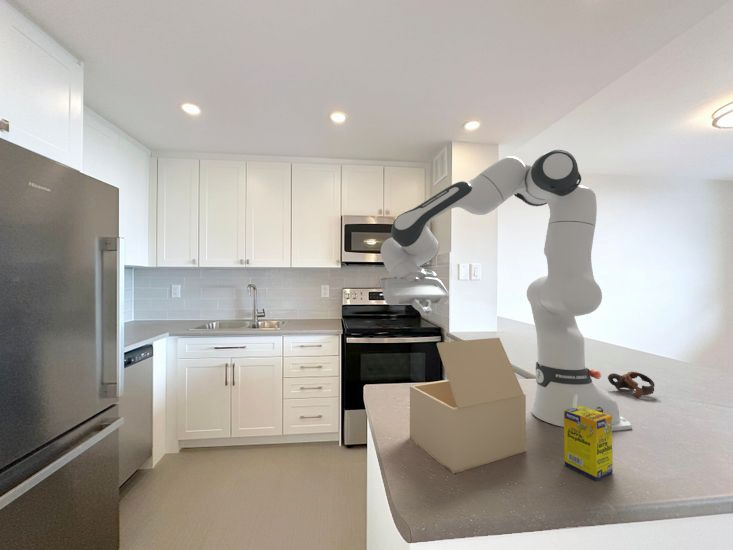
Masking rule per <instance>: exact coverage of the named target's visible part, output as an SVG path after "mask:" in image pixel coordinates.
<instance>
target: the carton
mask: <svg viewBox="0 0 733 550" xmlns="http://www.w3.org/2000/svg"><path fill="white" fill-rule="evenodd" d="M526 395H527V394H525V393H524V395H522V396H517V397H512V398H508V399H503V400H498V401H493V402H488V403H483V404H478V405H473V406H468V407H463V408H457V405H456V402H455V399H454V396H453V393H452V390H451V387H450V384H449V381H448V379H444V380H438V381H430V382H423V383H416V384H412V385H410V386H409V440H411V441H412V442H413V443H415V444H416V445H417V446H419V447H420V448H421V449H422V450H423V451H425V452H426V453H427V454H428V455H430V456H431V457H432V458H434V460H436V461H437V462H438V463H439V464H441V465H442V466H443V467H444V468H445V467H446V468H445V469H447V470H448V471H449V472H450V471H451V472H450V473H452V475H456V474H459V473H461V472H464V471H469V470H472V469H474V468H477V467H481V466H483V465H487V464H490V463H493V462H496V461H500V460H503V459H506V458H509V457H512V456H516V455H518V454H522V453H524V452H527V416H526V415H527V413H526V412H527V409H526V407H527V405H526V404H527V403H526V402H527V401H526V399H527V398H526ZM455 473H456V474H455Z"/></svg>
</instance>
